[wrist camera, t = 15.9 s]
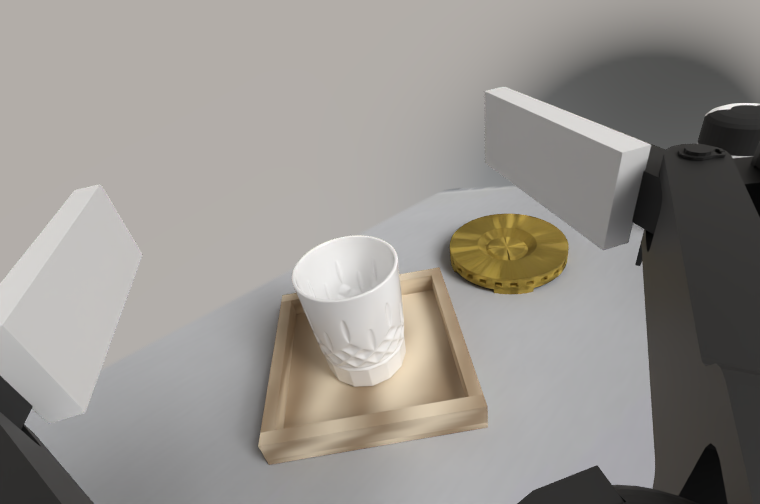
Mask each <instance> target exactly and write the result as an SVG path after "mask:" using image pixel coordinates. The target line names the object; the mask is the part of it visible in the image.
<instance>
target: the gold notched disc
mask: <svg viewBox="0 0 760 504" xmlns="http://www.w3.org/2000/svg"><path fill="white" fill-rule="evenodd" d="M567 256H568V242H567V239H566V237H565V235H564V234H563V233H562V232H561V231H560V230H559V229H558V228H557V227H555V226H554V225H552V224H550V223H549V222H546V221H544V220H541V219H539V218H535V217H532V216H527V215H520V214H496V215H489V216H484V217H481V218H477V219H475V220H472V221H470V222H468V223H466V224H464V225H463V226H462V227H460V228H459V229H458V230H457V231H456V232H455V233H454V234H453V236H452V238H451V241H450V257H451V265H452V268H453V270H454V271H455V272H458V273H459V274H460V275H461V276H462V277H464V278H465V279H466V280H468V281H470V282H472V283H474V284H477V285H479V286H482V287H486V288H490V289H494V293H499V294H522V293H529V292H533V289H534V288H535V287H539V286H542V285H544V284H546V283H548V282H550V281H552V280H554V279H555V278H556V277H558V276H559V275H560V274H561V273H562V271H563V270H564V268H565V266H566V263H567Z"/></svg>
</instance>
